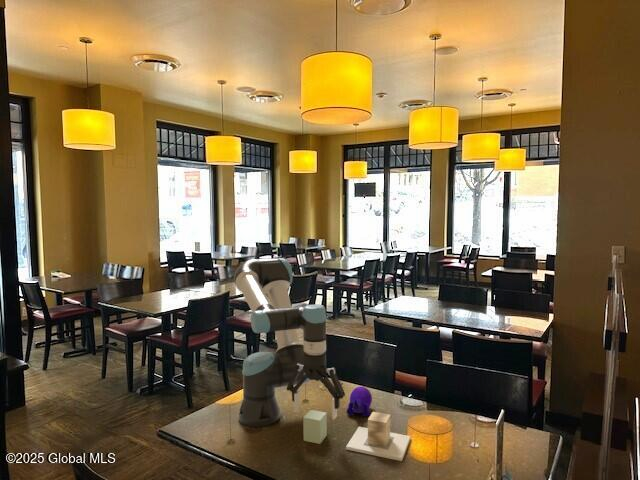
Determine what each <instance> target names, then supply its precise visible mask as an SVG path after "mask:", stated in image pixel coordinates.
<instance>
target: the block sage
mask: <svg viewBox="0 0 640 480" xmlns="http://www.w3.org/2000/svg"><path fill="white" fill-rule="evenodd" d="M327 413H328V412H324V411H319V410H313V409H309V411H308V412H306V414H305V415H304V416H303V418H302V419H303V421H302V423H303V431H302V432H303V433H302V434H303V441H304V442H310V443H315V444H318V445H319V444H320V445H321V444H322V443H323V441H324V440H325V438H326V437H327V435H328V434H327V433H328V431H327V429H328V428H327V427H328V424H327V423H328V422H327V421H328V417H327V415H328V414H327Z"/></svg>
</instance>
